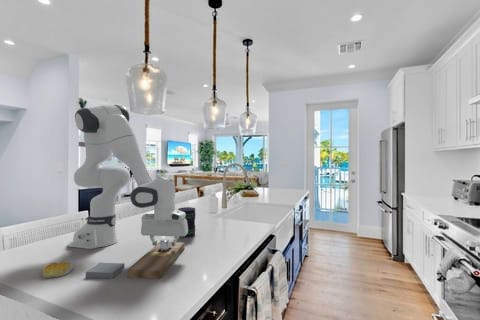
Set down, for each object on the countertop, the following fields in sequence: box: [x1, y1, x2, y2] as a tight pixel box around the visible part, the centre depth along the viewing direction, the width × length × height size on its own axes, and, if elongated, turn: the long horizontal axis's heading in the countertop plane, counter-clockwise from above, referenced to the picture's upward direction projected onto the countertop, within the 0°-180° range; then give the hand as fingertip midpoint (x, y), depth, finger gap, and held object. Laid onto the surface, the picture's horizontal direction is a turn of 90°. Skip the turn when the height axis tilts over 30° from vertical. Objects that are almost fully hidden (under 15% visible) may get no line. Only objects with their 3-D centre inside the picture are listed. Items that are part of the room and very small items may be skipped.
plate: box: [85, 262, 126, 279], centre depth 92 cm, size 10×8×2 cm
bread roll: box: [41, 261, 73, 279], centre depth 91 cm, size 8×9×4 cm
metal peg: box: [159, 238, 170, 252], centre depth 108 cm, size 4×4×7 cm
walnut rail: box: [127, 241, 185, 280], centre depth 103 cm, size 12×30×3 cm, turn 176°
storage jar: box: [177, 206, 196, 239], centre depth 139 cm, size 10×10×15 cm
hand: (164, 245), depth 108 cm, fingers open, 7 cm apart
